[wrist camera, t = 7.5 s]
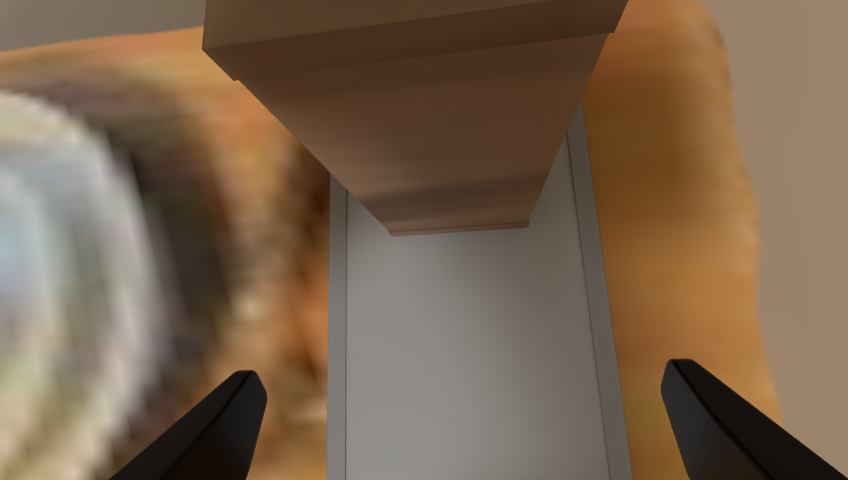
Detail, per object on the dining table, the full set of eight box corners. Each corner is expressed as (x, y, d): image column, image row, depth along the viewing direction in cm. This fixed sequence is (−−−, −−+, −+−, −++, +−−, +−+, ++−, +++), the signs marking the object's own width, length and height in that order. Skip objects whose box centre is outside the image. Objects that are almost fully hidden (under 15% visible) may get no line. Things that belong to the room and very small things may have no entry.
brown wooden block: (527, 227, 18) (633, -12, 5) (392, 236, 19) (201, 49, 6) (515, 102, 19) (576, -328, 7) (389, 116, 20) (229, -245, 7)
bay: (631, 498, 16) (680, 555, 12) (330, 493, 17) (285, 542, 13) (573, 61, 20) (595, -5, 16) (334, 89, 21) (301, 36, 17)
